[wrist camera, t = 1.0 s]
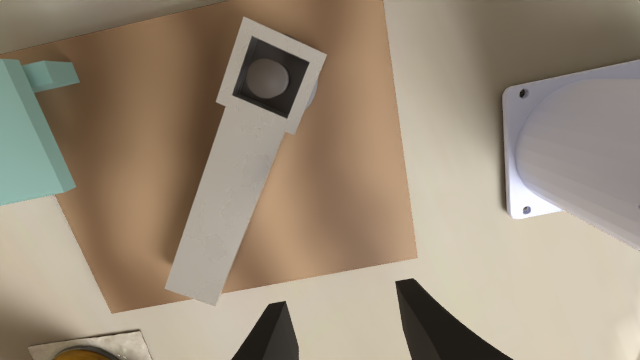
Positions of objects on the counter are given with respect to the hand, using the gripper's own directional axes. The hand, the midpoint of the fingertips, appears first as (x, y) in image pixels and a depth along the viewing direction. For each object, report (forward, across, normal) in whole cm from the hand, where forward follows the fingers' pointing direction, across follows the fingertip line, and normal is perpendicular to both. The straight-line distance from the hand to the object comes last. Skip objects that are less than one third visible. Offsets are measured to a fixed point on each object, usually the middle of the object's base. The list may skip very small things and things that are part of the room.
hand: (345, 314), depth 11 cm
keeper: (+9, +14, -8) cm, 19 cm away
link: (+8, +5, -4) cm, 10 cm away
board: (+9, +6, -4) cm, 12 cm away
